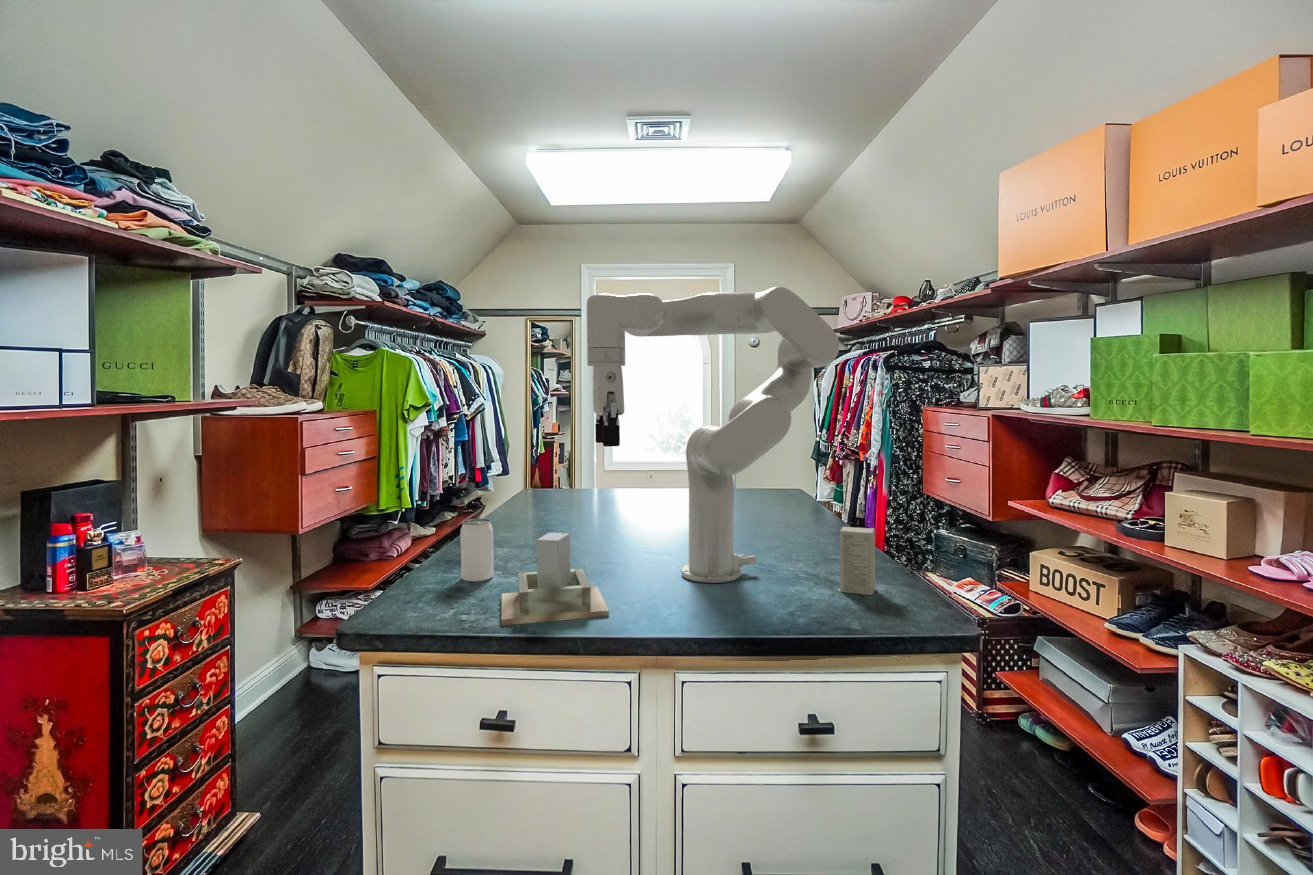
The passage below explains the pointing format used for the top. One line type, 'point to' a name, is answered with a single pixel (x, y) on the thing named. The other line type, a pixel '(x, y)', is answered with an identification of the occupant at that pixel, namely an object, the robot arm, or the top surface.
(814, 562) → the top surface
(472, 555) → the can
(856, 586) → the skincare box
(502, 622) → the bottle stand
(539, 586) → the skincare box
